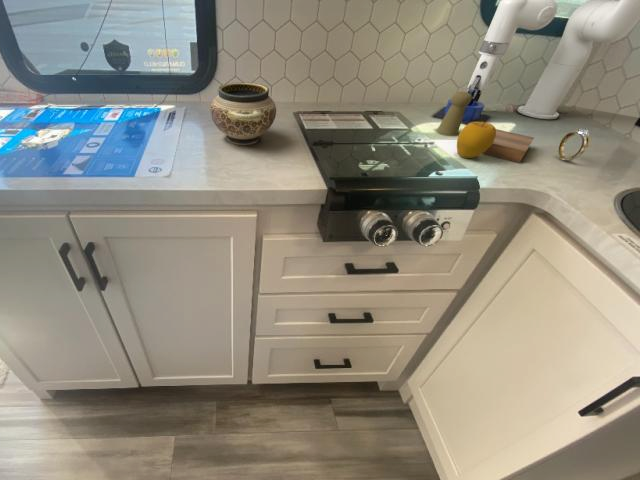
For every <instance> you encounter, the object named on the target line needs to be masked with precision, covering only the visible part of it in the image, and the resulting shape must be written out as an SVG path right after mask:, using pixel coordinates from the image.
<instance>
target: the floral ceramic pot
mask: <svg viewBox="0 0 640 480" xmlns="http://www.w3.org/2000/svg"><path fill="white" fill-rule="evenodd" d="M217 89H218V94H217V95H216V97H214V98H213V100H212V102H211V104H210V109H209V112H210V117H211V120H212V122H213V124H214V125H215V127H216V128H217V129H218V130H219V131H220V132H221V133H223V134H224V135H226V136H225V138H226V140H227V142H229V143H231V144H235V145H238V146H247V145H248V146H249V145H253V144H255V143H257V142H259V140H260V136H261V135H263V134H265V133H266V132H267V131H268V130H269V129H271V127H272V125H273V123H274V122H275V120H276V116H277V106H276V102H275V101H274V99H272V97H271V96H270V95H269V94H270V88H269V87H268V86H267V85H264V84H262V83H256V82H230V83H225V84H222V85H220V86H219V87H218V88H217Z"/></svg>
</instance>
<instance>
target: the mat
mask: <svg viewBox="0 0 640 480" xmlns="http://www.w3.org/2000/svg"><path fill="white" fill-rule="evenodd" d="M445 109H446V106H444V107H443V108H442V109H440V110H439V111H437V112H436V113H434V114H433V115H432V118H436V119H440V120H443V119H444V117H445V114H444V111H445ZM489 118H490V115H489V114H483V113H481V115H480V117H479V119H478V120H474V121H465V120H462V121H461V125H465V126H466V125H468V124H469V123H471V122H486V121H487V120H488V119H489Z"/></svg>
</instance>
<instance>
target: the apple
mask: <svg viewBox="0 0 640 480" xmlns="http://www.w3.org/2000/svg"><path fill="white" fill-rule="evenodd" d="M496 129H497V128H496V127H495V126H494V125H493V124H491V123H489V122H486V121H484V122H471V123H469V124H468V125H466V124H465V126H464V127H463V128H462V129H461V130H460V132H459V133H458V137H457V141H456V151H457V154H458V156H459V157H461V158H464V159H475V158H477V157H479V156H481V155H482V154H484V153H483V152H485V151H486V150H487V149H488V148H489V147H490V146H491V145H492V144H493V142H494V140H495V137H496Z"/></svg>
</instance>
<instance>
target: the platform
mask: <svg viewBox="0 0 640 480" xmlns="http://www.w3.org/2000/svg"><path fill="white" fill-rule="evenodd" d="M495 129H496V137H495V140H494V142H493V144H492V145H491V146H490V147H489V148H488V149H487V150H486V151H485V152H483V153H482V154H484V155H488V156H492V157H495V158H500V159H504V160H508V161H511V162H515V163H521V161H522V160H523V158H524V156H525V155H526V153H527V151H528V150H529V148H530V146H531V144H532V142H533V140H534V139H535V137H533V136H529V135H524V134H520V133H515V132H510V131H507V130H502V129H497V128H495Z"/></svg>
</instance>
